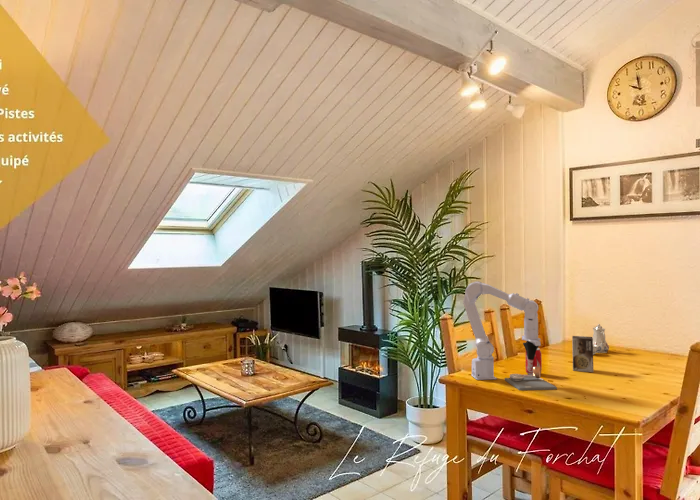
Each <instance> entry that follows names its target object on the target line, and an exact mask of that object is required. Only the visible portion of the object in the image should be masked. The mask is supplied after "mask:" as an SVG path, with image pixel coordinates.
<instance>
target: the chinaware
mask: <svg viewBox="0 0 700 500" xmlns="http://www.w3.org/2000/svg"><path fill="white" fill-rule="evenodd" d="M592 331H593V334H592V338H593V356H594V355H595V354H607V353H608V351H609V350H610V346H609V344H608V342H607V340H606V334H605V331H606V328H603V327H602V326H601V324H600V323H598V324H597V325H596V326H593V327H592Z"/></svg>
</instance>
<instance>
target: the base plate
mask: <svg viewBox="0 0 700 500" xmlns="http://www.w3.org/2000/svg"><path fill="white" fill-rule="evenodd" d="M504 381H505V382H507V383H508V384H510V385H511V386H512V387H514V388H515V389H517V390H518V391H543V390H544V391H549V390H551V391H552V390H555V389H556V390H557V389H558V387H557V386H555V385H554V384H552V383H550V382H549V381H547V380H545V379H543V378H541V377H540V378H524V379H522V380H516V379H511V378H510V377H505V378H504ZM556 390H555V391H556Z"/></svg>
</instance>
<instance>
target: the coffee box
mask: <svg viewBox="0 0 700 500" xmlns="http://www.w3.org/2000/svg"><path fill="white" fill-rule="evenodd" d="M571 341H572V342H571V343H572V345H571V346H572V371H574V372H589V373H594V355H593V336H583V335H581V336H580V335H572V340H571Z"/></svg>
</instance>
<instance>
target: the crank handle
mask: <svg viewBox="0 0 700 500" xmlns="http://www.w3.org/2000/svg"><path fill="white" fill-rule="evenodd" d="M509 378H511V379H516V380H522V379H524V378H541V374H540V367H537V366H534V367H533V375H530V374H521V373H511V374H509Z"/></svg>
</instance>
